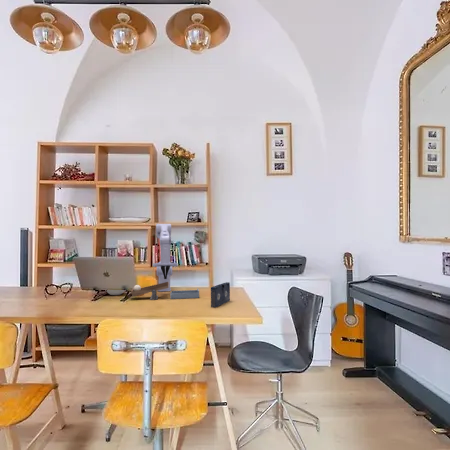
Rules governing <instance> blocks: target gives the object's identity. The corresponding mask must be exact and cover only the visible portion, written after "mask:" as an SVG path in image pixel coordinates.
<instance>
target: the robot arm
mask: <svg viewBox="0 0 450 450" xmlns="http://www.w3.org/2000/svg"><path fill="white" fill-rule="evenodd" d="M155 231H156V233H155V234H156V238H157V239H159V246H160V247H159V248H160V251H159V252H160V258H159V259H160V261H159V262H157V263H156V262H155V263H152V267H153V268H155V267H156V276H157V277H158V284H161V283H165V282H169V287H168V288H166V289H162V290H158V291H157V292H172V288H171V276H172V275H173V267H179V265H178V262H171V244H172V224H171V223H156V225H155Z"/></svg>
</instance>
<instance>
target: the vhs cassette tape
mask: <svg viewBox="0 0 450 450" xmlns="http://www.w3.org/2000/svg"><path fill="white" fill-rule="evenodd" d="M230 301H231V284H230V281H229V282H227V281H226V282H222V283H221V284H217V285H214V286H211V287H210V308H213V309H216V308H218V307H220V306H222V305H224V304H226V303H228V302H230Z"/></svg>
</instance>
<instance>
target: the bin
mask: <svg viewBox="0 0 450 450" xmlns="http://www.w3.org/2000/svg"><path fill="white" fill-rule="evenodd" d="M169 292H170V294H169V295H170V300H184V299H189V300H190V299H200V289H199V288H198V287H197V288H196V289H189V290H171V291H169Z"/></svg>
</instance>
